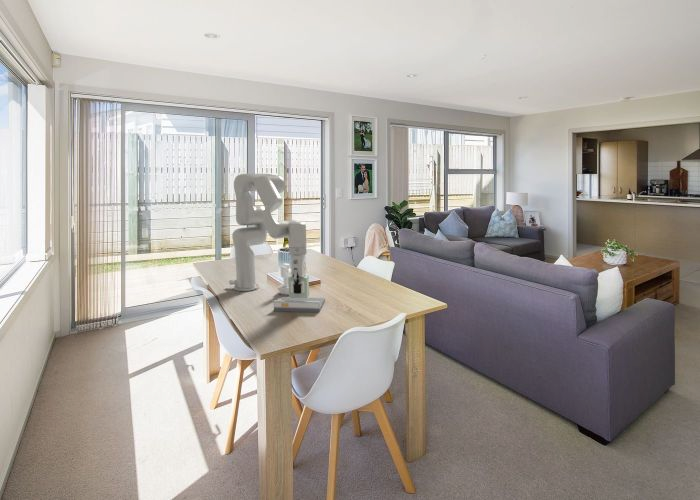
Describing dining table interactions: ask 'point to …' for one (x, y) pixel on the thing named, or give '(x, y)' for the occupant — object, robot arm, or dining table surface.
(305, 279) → the tea box
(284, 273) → the figurine
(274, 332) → the dining table surface
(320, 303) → the grey flat box
